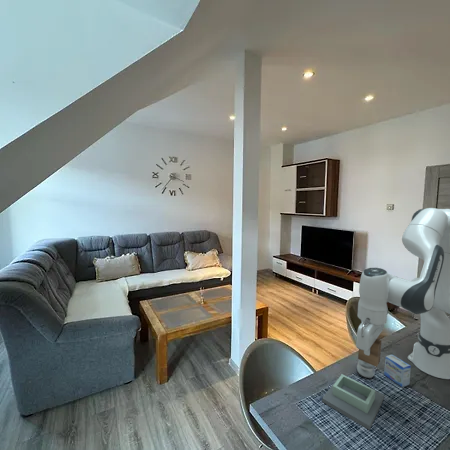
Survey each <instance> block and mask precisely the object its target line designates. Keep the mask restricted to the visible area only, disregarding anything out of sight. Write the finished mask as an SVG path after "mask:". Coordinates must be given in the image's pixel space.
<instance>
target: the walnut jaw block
mask: <svg viewBox="0 0 450 450" xmlns="http://www.w3.org/2000/svg"><path fill="white" fill-rule="evenodd" d="M370 349H371V354H370V355H369V356H368V355H365V354H364V350H361V349H359V348H358V353H357V354H358V356H357V359H358V361H359V360H362V361H364V362H366V363H369V364H371V365H373V366H374V367H375V368H376V367H378V365H380V362H381V354H382V353H381V351H382V340H381V339H378V338H377V339H376V340H375V342H374V343H373V345H372V346H371V348H370Z"/></svg>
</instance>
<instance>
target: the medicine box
mask: <svg viewBox="0 0 450 450" xmlns="http://www.w3.org/2000/svg"><path fill="white" fill-rule="evenodd" d="M384 360H385V361H384V372H383V375H384V377H386V378H388V379H389V380H391V381H393V383H395V384H397V385H398V386H400V387H401V388H404V387H406V386H407V387H408V386H409V385H410V383H411V382H410V380H411V369H412V368H411V367H412V366H411V365H410V364H409V363H407V362H406V361H404V360H402V359H400V358H399V357H397V356H396V355H394V354H389V355H386V356H385V359H384Z"/></svg>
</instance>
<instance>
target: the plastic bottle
mask: <svg viewBox="0 0 450 450" xmlns="http://www.w3.org/2000/svg"><path fill="white" fill-rule="evenodd" d="M375 368H376V367H375V366H373V365H371V364H369V363H366V362H364V361H362V360H359V359H358V362H357V366H356V370H357V372H358V373H359V375H360V376H362V377H363V378H366V379H372V378H373V377H374V376H375V372H376V369H375Z"/></svg>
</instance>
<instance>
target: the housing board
mask: <svg viewBox="0 0 450 450" xmlns="http://www.w3.org/2000/svg"><path fill="white" fill-rule="evenodd" d="M384 399H385V394H383V393H381V392H379V391H377V390H375V389H374V388H372V387H369V386H367V385H365V384H364V383H361V382H359V381H358V380H355V379H353V378H351V377H348V376H347V375H345V374H343V373H340V374H339V375H338V377H337V378H336V380H335V381H334V382H333V383H332V385H331V386H330V387H329V389H327V391H326V393H325V394H324V395H323V396H322V399H321V401H322V403H323V404H325V405H327V406H328V407H330V408H332V409H333V410H335V411H337V412H339V413H340V414H342V415H344V416H345V417H347V418H349V419H350V420H352V421H353V422H355V423H356V424H359V425H360V426H362V427H363V428H365V429H367V430H369V431H370V430H371V427H372V426H373V423H374V421H375V419H376V417H377V415H378V413H379V410H380V409H381V406H382V404H383V402H384Z"/></svg>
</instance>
